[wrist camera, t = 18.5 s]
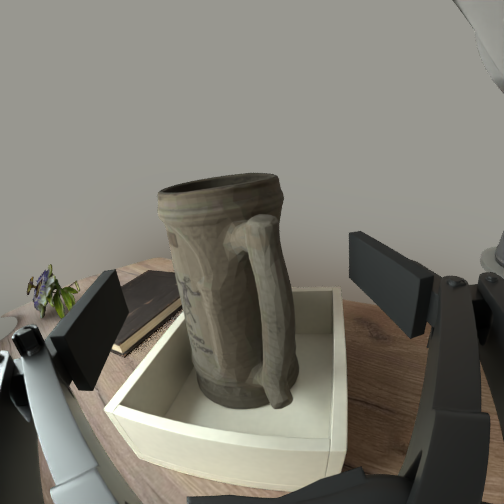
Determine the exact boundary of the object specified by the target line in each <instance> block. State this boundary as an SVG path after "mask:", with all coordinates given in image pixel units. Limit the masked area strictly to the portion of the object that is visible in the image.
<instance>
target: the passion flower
mask: <svg viewBox="0 0 504 504" xmlns="http://www.w3.org/2000/svg"><path fill="white" fill-rule="evenodd" d="M74 283H75V285H76V287H77V289H78V291H80V288H79V286H78V284H77V281H75V282H74ZM74 283H72V284H71V285H73V284H74ZM71 285H70V286H71ZM70 286H69V287H64V288H63V289H62V288H61V287H60V285H59V283H58V280H57V279H56V278H55V276H54V275H53V273H52V265H51V264H50V265H49V267H48V270H47V271H46V270H45V271H44V272H43V274H42V276H40V278H39V279H38V281H37V286H34V285H33V277H32V278H31V279H30V282H29V283H28V288H27V295H29V293H30V290H31V288H35V290H34V292H35V293H34V294H35V295H34V298H33V302H34V303H35V304H34V307H35V308H36V309H37V310H38V311H40V318H44V316H45V311H46V305H47V304H48V302H49V303H50V305H51V306H52V307H54V306H55V309H56V311H57V313H58V315H59V317H60V318H61V319H62V318H63V317H65V311H64V306H63V304H62V301H61V299H60V294H61V295H62V297H63V299H64V301H65V305H66V307H67V308H68V310H69V311H70V310H71V309H72V308H73V306H74V305H75V298H74V296H73V295H72V294H71V293H73V294H76V293H78V292H77V291H76V290H75V289H73V288H71V287H70ZM55 289H57V290H56V292H53V290H55ZM52 293H56V294H54V296H53V298H52ZM53 303H54V304H53Z"/></svg>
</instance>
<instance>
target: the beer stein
mask: <svg viewBox="0 0 504 504" xmlns="http://www.w3.org/2000/svg"><path fill="white" fill-rule="evenodd" d="M283 200H284V197H283V192H282V190H281V188H280V183H279V178H278V176H276V175H274V174H267V173H245V174H236V175H228V176H221V177H214V178H208V179H202V180H197V181H191V182H187V183H182V184H178V185H174V186H171V187H168V188H165V189H163V190H161V191H159V192H158V210H157V212H158V217H159V219H160V220H161V221H162V222H163V223H164V224H165V227H166V231H167V236H168V240H169V245H170V251H171V256H172V262H173V267H174V272H175V276H176V281H177V285H178V290H179V294H180V299H181V303H182V308H183V313H184V317H185V322H186V326H187V331H188V335H189V339H190V343H191V348H192V362H193V364H194V367H195V369H196V371H197V372H196V375H197V382H198V385H199V387H200V390H201V391H202V392H203V394H204V395H205V396H206V397H207V398H208V399H209V400H211V401H213V402H214V403H216V404H219V405H221V406H224V407H226V408H232V409H250V408H257V407H260V406H263V405H266V404H269V403H270V404H271V406H272V407H273V408H274V409H282V408H284V407H286V406H288V405H290V404H291V403H292V402H293V396H292V394H291V391H290V389H291V388H292V386H293V385H294V384H295V383H296V380H297V377H298V374H299V364H298V359H297V356H296V341H295V328H296V326H295V310H294V301H293V294H292V288H291V284H290V280H289V276H288V272H287V268H286V265H285V261H284V257H283V254H282V249H281V244H280V236H279V222H280V216H281V209H282V204H283Z"/></svg>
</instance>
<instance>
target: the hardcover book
mask: <svg viewBox="0 0 504 504" xmlns="http://www.w3.org/2000/svg"><path fill="white" fill-rule="evenodd" d="M121 289H122V292H123V295H124V298H125V301H126V304H127V307H128V310H129V314H128V316H127V318H126V320H125V322H124V324H123V326H122V328H121V330H120V332H119V334H118V336H117V338H116V341H115V343H114V345H113V347H112V349H111V352H113V353H115V354H118V355H120V356H122V357H125V356H126V355H127V354H128V353H130V352H131V351H132V350H133V349H134V348H135V347H137V346H138V345H139V344H140V343H141V342H143V341H144V340H145V339H146V338H147V337H148V336H150V335H151V334H152V333H153V332H154V331H156V330H157V329H158V328H159V327H160V326H161V325H163V324H164V323H165V322H166V321H167V320H169V319H170V318H171V317H172V316H173V315H175V314H176V313H177V312H178V311H179V310H180V309H182V303H181V299H180V294H179V290H178V285H177V281H176V276H175V273H173V272H162V271H152V270H148V271H146V272H144V273H143V274H141V275H140V276H138V277H136V278H135V279H133V280H131V281H130V282H128V283H126V284H125V285H123V286H121Z"/></svg>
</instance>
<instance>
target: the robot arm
mask: <svg viewBox="0 0 504 504" xmlns="http://www.w3.org/2000/svg"><path fill="white" fill-rule="evenodd" d="M453 2H454V3H455V4H456V5H457V7H458V8H459V9H460V11H461V12H462V13H463V15H464V16H465V18H466V19H467V20H468V21H469V23H470V25H471V26H472V28H473V29H474V31H475V38H476V43H477V49H478V52H479V55H480V57H481V60H482V62H483V64H484V66H485V68H486V70H487V72H488V73H489V75H490V77H491V78H492V80H493V81H494V82H495V84H496V85H497V86H498V87H499V88H500V90H501V91H502V92H503V93H504V0H453ZM495 260H496V262H497V263H498V264H499V265H500V266H502V267H503V268H504V231H503V234H502V237H501V239H500V242H499V245H498V246H497V248H496V252H495ZM349 278H351V280H352V281H353V282H354V283H355V284H357V286H358V287H360V289H362V290H363V291H364V292H365V293H366V294H367V295H368V296H369V297H370V298H371V299H372V300H373V301H374V302H375V303H376V304H377V305H378V306H379V307H380V308H381V309H382V310H383V311H384V312H385V313H386V314H387V315H388V316H389V317H390V318H391V319H392V320H393V321H394V323H395V324H396V325H397V326H398V327H399V328H400V329H401V330H402V331H403V332H404V333H405V334H406V335H407V336H408V337H409V338H410V339H411V338H414V337H417V336H420V335H422V334H424V332H425V327H426V322H428V323H429V324H430V325H431V326H432V328H431V332H430V336H429V340H428V344H427V348H429V349H428V357H427V364H426V371H425V377H424V383H423V388H422V394H421V399H420V403H419V408H418V413H417V417H416V421H415V425H414V429H413V433H412V436H411V440H410V444H409V447H408V450H407V454H406V457H405V460H404V463H403V465H402V467H401V469H400V472H399V474H398V475H390V474H369V475H365V473H364V471H363V469H362V466H361V467H358V468H355V469H352V470H349V471H346V472H343V473H339V474H336V475H333V476H329V477H326V478H322V479H319V480H317V481H315V482H313V483H311V484H309V485H307V486H305V487H303V488H301V489H298V490H296V491H294V492H292V493H289V494H287V495H284V496H282V497H279V498H259V497H246V496H236V495H220V496H196V497H187V504H491V503H487V502H482V497H483V492H484V486H485V480H486V473H487V465H488V455H489V443H490V415H489V414H488V413H484V412H481V372H480V362H481V365H482V367H483V370H484V373H485V376H486V379H487V382H488V385H489V388H490V391H491V394H492V397H493V401H494V404H495V407H496V411H497V415H498V419H499V423H500V427H501V431H502V435H503V440H504V279H503V278H502V277H501V276H499V275H497V274H496V273H493V272H490V273H487V272H486V273H482V274H480V276H479V280H478V284H475V285H468V282H467V281H466V280H464V279H463V278H460V277H457V276H446V277H443V278H442V277H441V276H439V275H437V274H436V273H434V272H432V271H431V270H428V268H426V267H425V266H424V267H423V265H421V264H420V263H418V262H416V261H413V260H410V259H408V258H406V257H404V256H403V255H401V254H400V253H398V252H396V251H394V250H393V249H391V248H389V247H388V246H386V245H384V244H382V243H381V242H379V241H377V240H376V239H374V238H372V237H370V236H369V235H367V234H365V233H363V232H361V231H358V232H351V233H349ZM128 314H129V310H128V307H127V304H126V301H125V298H124V295H123V292H122V289H121V286H120V282H119V279H118V276H117V272H116V269H114V270H108V271H104V272H103V273H102V274H101V275H100V276H99V277H98V278H97V279H96V281H95V282H94V283H93V284H92V285H91V286H90V287H89V289H88V290H87V291H86V292H85V293H84V294H83V296H82V297H81V298H80V299H79V300H78V301H77V303H76V304H75V305H74V306H73V308H72V309H71V310H70V311H69V312H68V314H67V315H66V316H65V317H63V318H62V319H61V320H60V321H59V323H58V324H57V326H56V327H55V328H54V329H53V331H52V332H51V333H50V334H49V335H48V337H47V338H46V339H45V341H44V339H43V337H42V335H41V333H40V331H39V329H38V327H37V325H34V324H32V325H27V326H24V327H22V328H21V329H19V330H18V331H16V332H15V333H14V335H13V337H12V340H13V342H14V344H15V346H16V348H17V350H18V351H19V353H20V355H21V358H19V359H15V360H13V359H12V358H11V356H10V354H9V352H8V351H0V504H44V499H43V493H42V486H41V478H40V469H39V456H38V437H39V440H40V444H41V447H42V450H43V453H44V455H45V458H46V461H47V464H48V466H49V469H50V471H51V474H52V476H53V479H54V481H55V484H56V486H55V487H52V488H51V489H50V493H51V497H52V499H53V502H54V504H143V503H142V502H141V501H140V499H139V498H138V497H137V496H136V494H135V493H134V492H133V491H132V489H131V488H130V487H129V485H128V484H127V483H126V481H125V480H124V478H123V477H122V476H121V474H120V473H119V471H118V470H117V469H116V467H115V466H114V464H113V463H112V461H111V460H110V458H109V457H108V455H107V453H106V452H105V450H104V449H103V447H102V445H101V444H100V442H99V440H98V439H97V437H96V435H95V434H94V432H93V430H92V428H91V426H90V425H89V423H88V421H87V419H86V417H85V415H84V413H83V411H82V410H81V408H80V406H79V404H78V402H77V399H76V397H75V395H74V393H73V391H72V390H71V388H70V387H69V386H70V384H71V382H72V380H73V382H74V384H75V385H76V387H77V388H78V390H82V391H93V390H94V387H95V385H96V383H97V380H98V378H99V376H100V373H101V371H102V369H103V367H104V364H105V362H106V360H107V358H108V356H109V353H110V351H111V349H112V347H113V345H114V343H115V341H116V338H117V336H118V334H119V332H120V330H121V328H122V326H123V324H124V322H125V320H126V318H127V316H128Z"/></svg>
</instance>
